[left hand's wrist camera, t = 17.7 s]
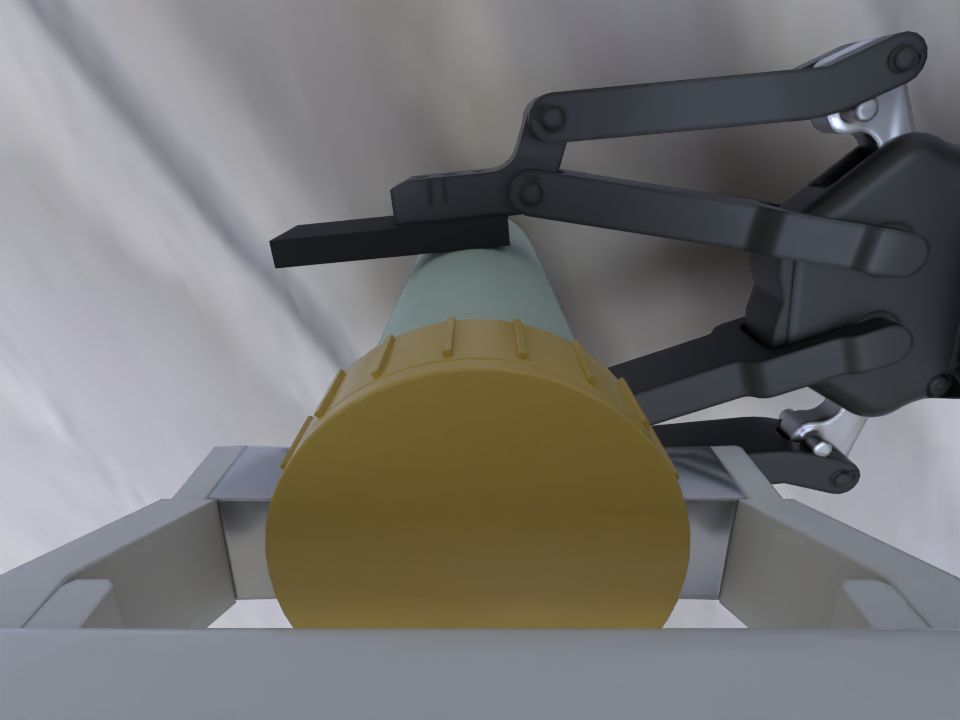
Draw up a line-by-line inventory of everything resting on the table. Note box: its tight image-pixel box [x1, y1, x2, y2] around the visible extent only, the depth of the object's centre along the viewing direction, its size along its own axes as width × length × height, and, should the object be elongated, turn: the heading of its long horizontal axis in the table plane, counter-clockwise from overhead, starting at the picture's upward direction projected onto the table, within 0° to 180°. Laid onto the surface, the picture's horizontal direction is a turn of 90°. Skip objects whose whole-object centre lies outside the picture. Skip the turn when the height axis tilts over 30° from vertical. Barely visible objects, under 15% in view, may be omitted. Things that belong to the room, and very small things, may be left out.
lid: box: [265, 317, 690, 628], centre depth 9 cm, size 6×6×2 cm
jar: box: [378, 218, 575, 346], centre depth 17 cm, size 5×5×17 cm
